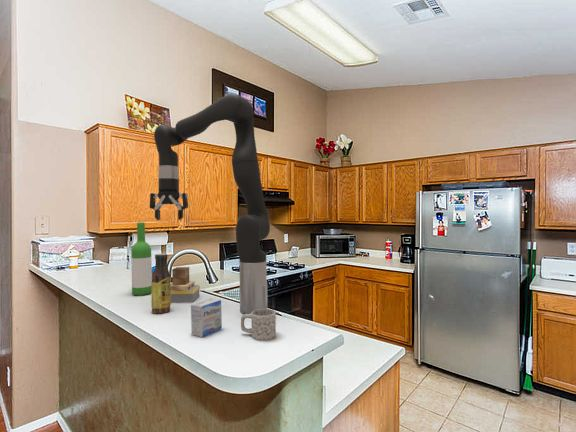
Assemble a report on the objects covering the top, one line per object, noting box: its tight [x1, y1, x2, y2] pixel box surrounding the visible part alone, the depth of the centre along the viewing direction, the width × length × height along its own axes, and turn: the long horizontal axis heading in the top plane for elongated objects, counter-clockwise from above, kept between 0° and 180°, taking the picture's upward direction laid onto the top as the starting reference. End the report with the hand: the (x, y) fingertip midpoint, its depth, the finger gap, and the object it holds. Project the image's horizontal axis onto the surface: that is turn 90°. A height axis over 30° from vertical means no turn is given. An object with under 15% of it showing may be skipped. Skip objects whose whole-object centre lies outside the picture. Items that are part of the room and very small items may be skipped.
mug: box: [240, 308, 277, 342], centre depth 95 cm, size 10×7×7 cm
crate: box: [171, 266, 190, 285], centre depth 134 cm, size 5×5×6 cm
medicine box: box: [190, 298, 223, 338], centre depth 98 cm, size 8×4×9 cm, turn 148°
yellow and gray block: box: [171, 284, 201, 303], centre depth 134 cm, size 12×9×4 cm
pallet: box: [171, 280, 195, 291], centre depth 134 cm, size 8×10×2 cm
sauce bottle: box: [150, 253, 172, 314], centre depth 118 cm, size 7×6×20 cm
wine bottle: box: [131, 222, 153, 297], centre depth 143 cm, size 8×8×30 cm
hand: (169, 219), depth 133 cm, fingers open, 8 cm apart
